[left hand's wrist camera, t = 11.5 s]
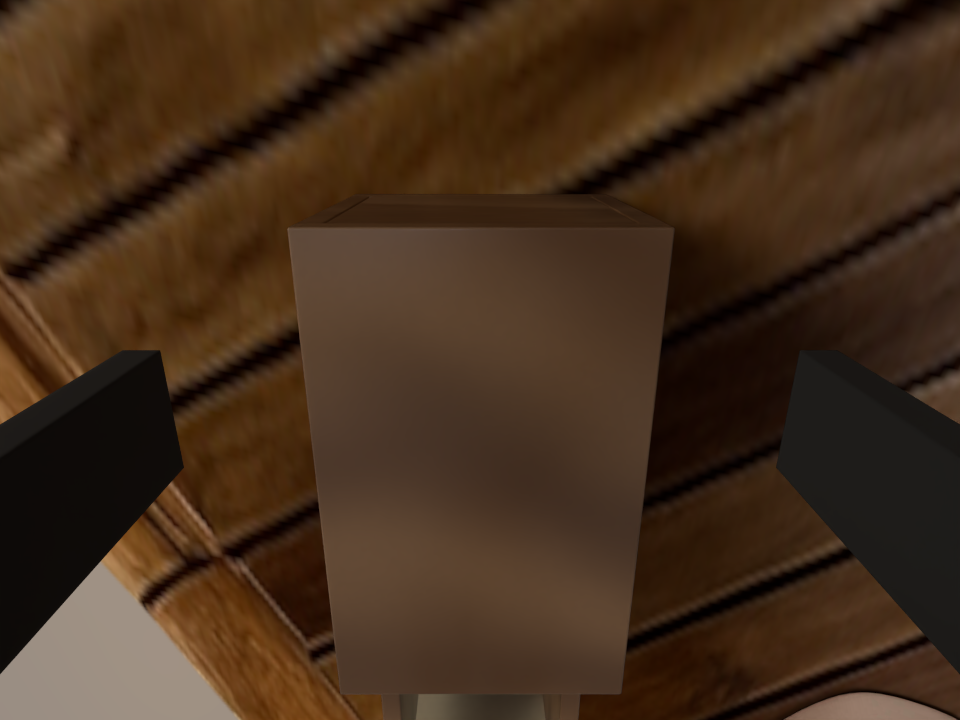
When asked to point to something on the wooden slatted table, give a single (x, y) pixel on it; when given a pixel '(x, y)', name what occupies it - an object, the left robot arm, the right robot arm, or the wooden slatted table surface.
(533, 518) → the tall brown box
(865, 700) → the anatomical model
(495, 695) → the drawer
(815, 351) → the left robot arm
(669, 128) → the wooden slatted table surface
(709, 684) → the wooden slatted table surface
